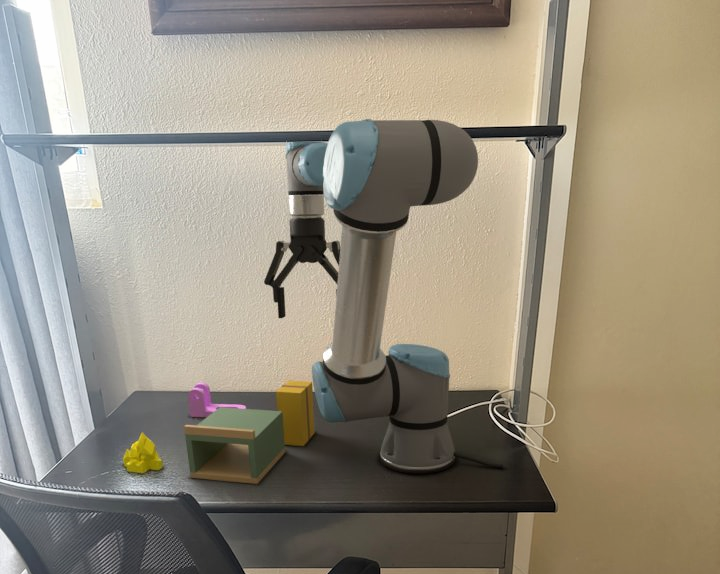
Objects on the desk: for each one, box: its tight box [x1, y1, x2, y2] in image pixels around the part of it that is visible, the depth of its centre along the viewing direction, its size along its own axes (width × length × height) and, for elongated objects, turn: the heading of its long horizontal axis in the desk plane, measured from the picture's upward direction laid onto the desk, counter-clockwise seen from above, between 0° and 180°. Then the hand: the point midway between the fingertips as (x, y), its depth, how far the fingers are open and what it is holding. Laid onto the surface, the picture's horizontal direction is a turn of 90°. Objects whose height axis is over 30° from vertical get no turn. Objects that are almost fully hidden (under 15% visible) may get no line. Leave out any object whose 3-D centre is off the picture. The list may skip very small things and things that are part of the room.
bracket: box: [187, 382, 247, 418], centre depth 170 cm, size 13×6×7 cm, turn 85°
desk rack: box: [183, 407, 286, 485], centre depth 141 cm, size 14×16×11 cm
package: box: [275, 380, 316, 447], centre depth 153 cm, size 6×8×12 cm
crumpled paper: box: [122, 431, 164, 474], centre depth 141 cm, size 6×8×8 cm
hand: (310, 318), depth 157 cm, fingers open, 13 cm apart
